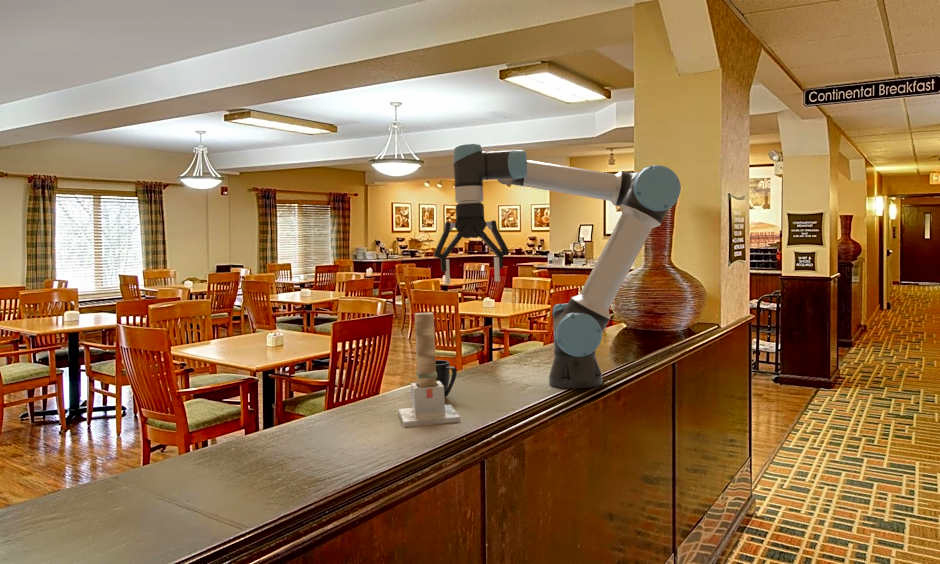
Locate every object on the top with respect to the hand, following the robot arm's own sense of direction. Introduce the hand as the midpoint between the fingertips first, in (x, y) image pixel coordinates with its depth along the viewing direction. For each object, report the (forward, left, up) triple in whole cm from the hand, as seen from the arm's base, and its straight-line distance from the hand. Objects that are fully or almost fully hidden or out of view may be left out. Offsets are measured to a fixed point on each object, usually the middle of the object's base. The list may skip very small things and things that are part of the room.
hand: (472, 282), depth 181 cm
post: (+16, +19, -25) cm, 35 cm away
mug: (+10, -1, -31) cm, 32 cm away
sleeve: (+16, +19, -31) cm, 39 cm away
